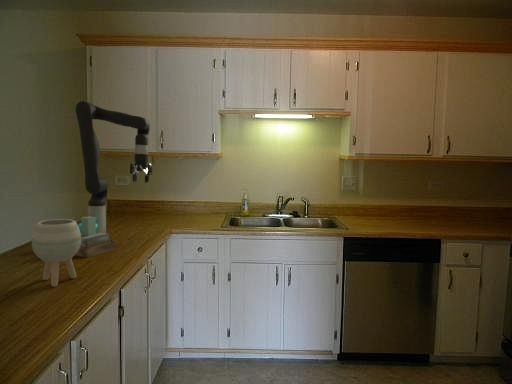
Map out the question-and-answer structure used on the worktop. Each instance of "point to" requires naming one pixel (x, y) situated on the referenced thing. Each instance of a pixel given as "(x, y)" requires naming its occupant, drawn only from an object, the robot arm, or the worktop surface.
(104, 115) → the robot arm
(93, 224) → the brick
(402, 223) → the worktop surface
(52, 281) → the planter
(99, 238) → the brown truncated pyramid
